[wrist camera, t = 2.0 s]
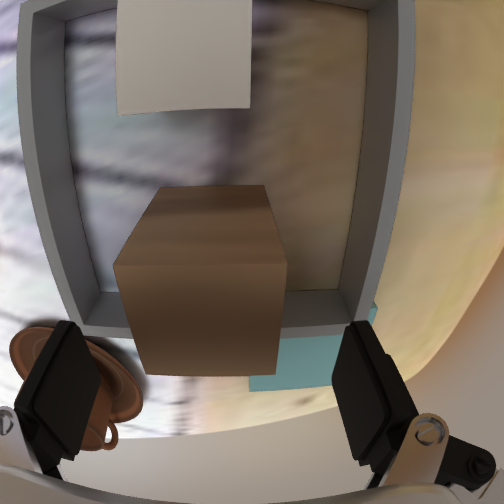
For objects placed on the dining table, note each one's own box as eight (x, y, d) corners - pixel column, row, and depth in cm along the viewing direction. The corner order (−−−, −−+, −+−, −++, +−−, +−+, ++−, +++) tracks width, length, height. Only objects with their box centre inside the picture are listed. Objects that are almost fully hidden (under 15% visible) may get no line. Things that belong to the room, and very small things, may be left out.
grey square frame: (53, 12, 9) (20, 4, 6) (382, 1, 10) (413, -12, 7) (92, 301, 17) (76, 334, 15) (347, 299, 18) (363, 332, 16)
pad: (250, 308, 18) (251, 315, 18) (374, 301, 19) (377, 307, 18) (249, 385, 22) (249, 391, 22) (347, 377, 23) (349, 382, 22)
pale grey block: (155, 25, 10) (117, -3, 6) (245, 19, 11) (252, -15, 6) (155, 105, 12) (117, 116, 8) (243, 102, 13) (250, 108, 8)
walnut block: (160, 187, 14) (112, 265, 8) (263, 185, 15) (287, 263, 9) (170, 273, 17) (145, 374, 11) (260, 272, 17) (275, 374, 11)
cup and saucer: (175, 376, 22) (167, 447, 16) (108, 418, 25) (97, 469, 20) (41, 284, 17) (-2, 349, 12) (7, 354, 21) (-17, 403, 15)
